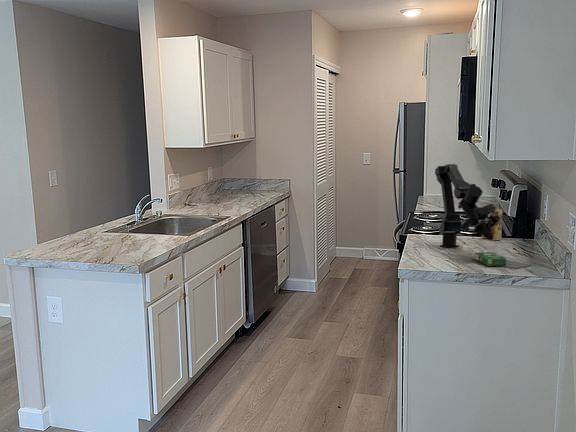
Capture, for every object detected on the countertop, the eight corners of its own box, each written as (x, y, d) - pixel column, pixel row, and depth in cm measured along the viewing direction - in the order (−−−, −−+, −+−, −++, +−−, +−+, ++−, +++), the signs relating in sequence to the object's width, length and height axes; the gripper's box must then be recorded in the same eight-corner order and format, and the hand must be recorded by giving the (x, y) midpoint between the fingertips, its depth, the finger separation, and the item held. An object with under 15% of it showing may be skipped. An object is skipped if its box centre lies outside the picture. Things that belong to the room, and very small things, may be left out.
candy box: (501, 240, 268) (503, 209, 266) (497, 241, 265) (498, 210, 263) (485, 237, 275) (486, 208, 273) (480, 238, 272) (481, 209, 270)
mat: (485, 262, 220) (485, 261, 220) (501, 259, 225) (501, 258, 225) (515, 269, 208) (515, 268, 208) (531, 265, 213) (531, 264, 213)
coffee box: (473, 259, 225) (486, 266, 212) (473, 252, 225) (487, 259, 212) (492, 258, 226) (506, 265, 213) (492, 251, 225) (507, 258, 212)
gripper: (467, 199, 220) (489, 229, 212) (497, 196, 229) (519, 225, 222) (452, 216, 228) (472, 246, 220) (481, 212, 237) (502, 241, 229)
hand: (492, 239), depth 222 cm, fingers closed
